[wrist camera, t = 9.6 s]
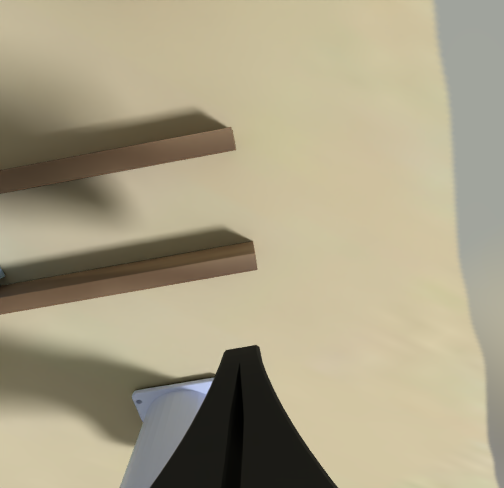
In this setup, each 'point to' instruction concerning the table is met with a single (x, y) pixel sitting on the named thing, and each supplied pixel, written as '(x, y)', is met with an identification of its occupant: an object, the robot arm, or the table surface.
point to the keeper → (1, 273)
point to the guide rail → (136, 272)
